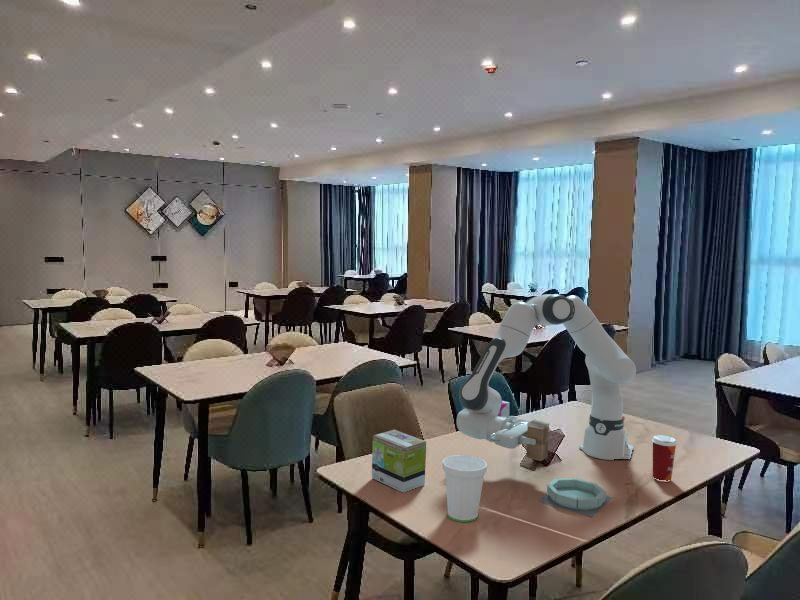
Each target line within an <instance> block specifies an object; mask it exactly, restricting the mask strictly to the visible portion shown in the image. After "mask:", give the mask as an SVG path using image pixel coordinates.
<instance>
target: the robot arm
mask: <svg viewBox="0 0 800 600" xmlns="http://www.w3.org/2000/svg"><path fill="white" fill-rule="evenodd" d="M561 324H562V325H563V326H564V327H565V329H566V330H567V332H568V334H569V335H570V336H571V338H572V339H573V341H574V342H575V344H576V345H577V348H579V349H580V351H582V352H583V353H584V355H585V357H584V358H585V359H584V362H585V365H586V367H587V370H588V376H589V381H590V389H591V407H590V414H589V417H588V418H589V419H588V421H589V422H588V423H589V425H588V426H586V427H585V428H584V433H583V434H584V435H583V443H581V444H580V445H579V446H578V447H579V450H582V452H583V453H585V454H586V455H588V456H589V457H592V458H596V459H600V460H606V461H615V460H614V459H629V458H631V459H632V456H631V454H632V455H633V452H632V450H633V451H634V446H633V445H632V444H629V443H628V442H629V441H628V437H629V435H628V433H627V432H626V429H625V428H624V427H625V426H624V425H625V418H626V417H625V415H624V414H623V410H624V395H623V393H622V390H621V386H620V385H626V384H629V383H631V382H632V381H633V380H634V379H635V377H636V374H637V366H636V364H635V362H634V361H633V360H632V359H631V358H629V356H628V355H627V354H626V353H625V352H624V351H623V349H622V348H621V346H619V345H618V344H617V343H616V341H615V340H614V339H613V338H612V337H611V336H610V335H609V334H608V333H607V331H606V330H605V328H604V327H603V325H602V323H600V321H599V319H598V318H597V317H596V315H595V314H594V312H593V311H592V310H591V309H590V306H588V305H587V304H586V303H585V301H583V300H582V298H580V297H579V296H578V295H568V296H564V295H562V294H558V293H554V294H551V293H549V294H547V293H546V294H541V295H535V296H532V297H530V298H528V299H527V300H526V301H525V302H524V301H516V302H513V303H512V304H511V305H510V307H509V308H508V310H507V311H506V313H505V315H504V316H503V318H502V320H501V322H500V325H499V326H498V329H497V331H496V333H495V335H494V337H493V338H492V340H490V341H489V343H488V344H487V345H486V347H485V349H484V350H483V352H482V354H481V356H480V358H479V359H478V361H477V364H476V365H475V366H474V369H473V370H472V371H471V374H470V375H469V377H468V378H467V379H466V380H465V381H464V382H463V383H462V384H461V386H460V388H459V391H458V397H459V398H458V399H459V401H460V405H462V407H464V408H463V409H462V410H460V411H459V412H458V413H457V416H456V427H457V429H458V431H459V432H460V433H461V434H463V435H465V436H467V437H470V438H473V439H477V440H485V441H488V442H490V443H493V444H495V445H497V446H499V447H502V448H505V449H511V450H512V449H515V448H517V447H519V446H520V445H527V444H532V445H535V444H536V443H537V439H536V438H533V437H532V438H528V437H527V430H528V426H527V423H529V422H531V421H532V420H527V419H524V418H523V419H522V418H518V417H517V416H514V415H509V416H508V417H502V416H501V417H499V416H498V414H499V411H500V408H501V405H502V401H503V399H502V396H501V394H500V392H498V390H495V389H494V388H492V387H490V386H489V383H490V380H491V379H492V376H493V375H494V373H495V371H496V369H497V367H498V365H499V363H500V362H501V361H502V360H504V359H507V358H514V357H517V356H519V355H521V354H522V353H523V352H524V350H525V348H526V347H527V345H528V342H529V340H530V337H531V335H532V332H533V330H534V328H535V327H536V326H551V325H552V326H553V325H554V326H555V325H557V326H558V325H561Z"/></svg>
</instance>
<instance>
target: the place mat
mask: <svg viewBox="0 0 800 600" xmlns="http://www.w3.org/2000/svg"><path fill="white" fill-rule="evenodd" d="M612 498H613V497H612V496H609V495H606V500H605V501H604V502H603V503H602V506H601V507H600V508H598V509H595V510H574V509H569V508H566V507H563V506H560V505H558V504H556V503H555V502H553V501H552V500H551V499H550V495H549V494H548V493H547V494H546V495H545V496H544V497H542V498H541V499H540V500H539V501H538V503H541V504H545V505H548V506H551V507H555V508H558V509H561V510H564V511H568V512H571V513H575V514H579V515H581V516H584V517H588V518H593V517H594V516H595V515H596V514H597V513H598V512H600V510H601V509H602V508H603V507H604V506H605V505H606V504H607V503H608V502H609V501H610V500H611V499H612Z"/></svg>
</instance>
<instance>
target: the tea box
mask: <svg viewBox="0 0 800 600" xmlns="http://www.w3.org/2000/svg"><path fill="white" fill-rule="evenodd" d="M371 449H372V451H371V453H372V454H371V455H372V456H371V479H372V480H375V481H378V482H380V483H382V484H384V485H386V486H388V487H390V488H392V489H394V490H396V491H398V492H400V493H402V492H403V493H402V494H404V492H405V493H407V491H408V492H410V491H413V490H416V489H418V488H420V487H423V486H425V484H426V461H427V460H426V459H427V441H426V440H423V439H421V438H418V437H417V436H416V437H415V436H412V435H410V434H407V433H405V432H402V431H400V430H398V429H391V430H388V431H385V432H381V433H377V434H373V435H372V448H371ZM415 488H416V489H415ZM412 489H413V490H412ZM409 490H410V491H409Z"/></svg>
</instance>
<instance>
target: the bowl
mask: <svg viewBox="0 0 800 600" xmlns="http://www.w3.org/2000/svg"><path fill="white" fill-rule="evenodd" d="M546 486H547V488H546V489H547V490H546V493H547V495H548V494H549V495H550V499H551V500H552V501H553V502H555V503H556V504H558V505H560V506H563V507H566V508H569V509H574V510H595V509H598V508H600V507H601V506H602V503H603V502H604V501H605V500H606V496H607V491H606V490H604V489H603V488H602V487H601V486H600V485H598V484H597V483H596V482H592V481H588V480H584V479H581V478H577V477H576V478H575V477H565V478H564V477H563V478H559V477H558V478H554V479H553V480H552V481H550V482H548V484H547V485H546Z"/></svg>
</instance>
